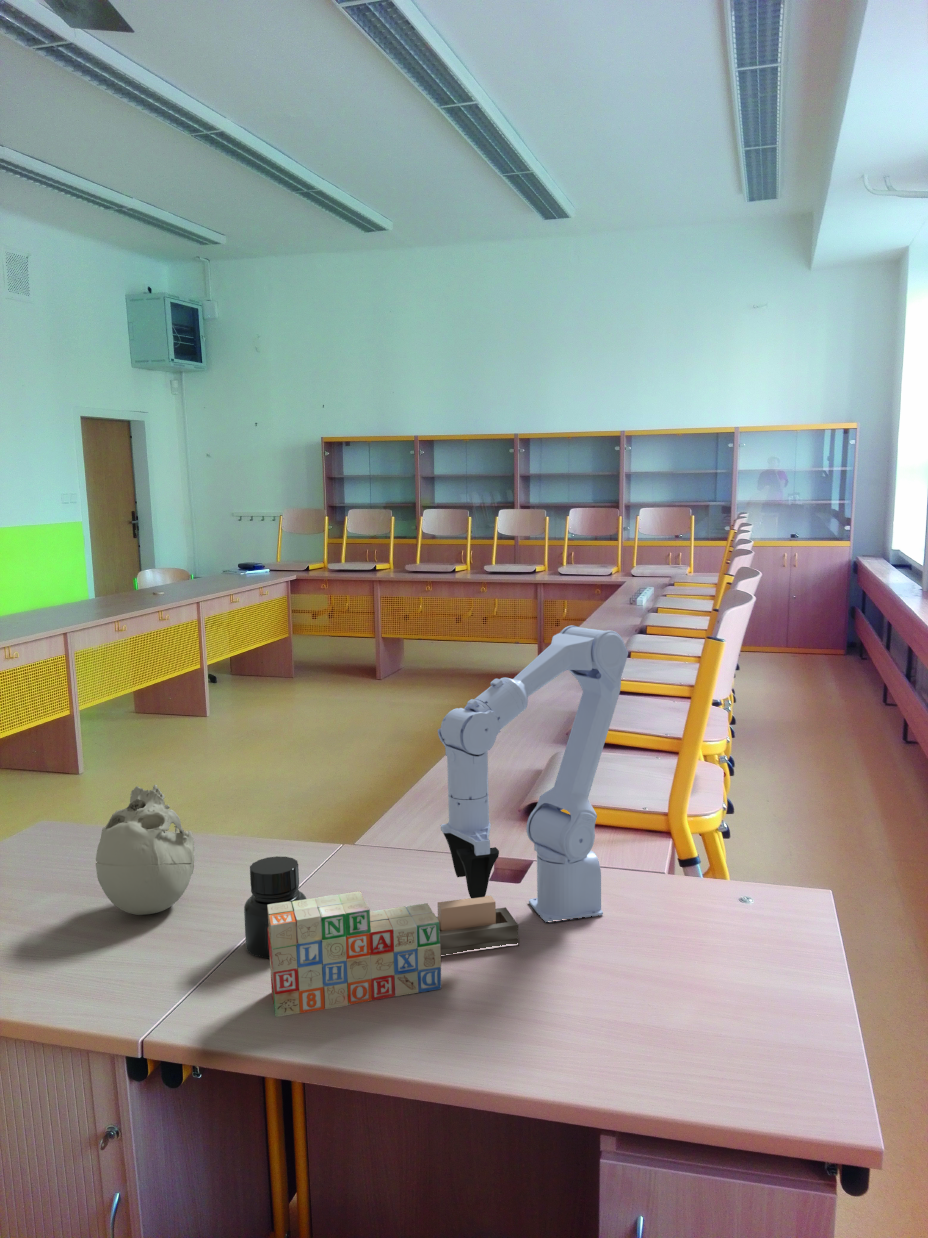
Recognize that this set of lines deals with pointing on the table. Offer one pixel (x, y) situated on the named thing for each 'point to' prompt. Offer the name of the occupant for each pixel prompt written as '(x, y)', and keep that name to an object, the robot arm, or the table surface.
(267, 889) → the ink bottle
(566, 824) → the robot arm
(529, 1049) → the table surface
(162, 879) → the skull
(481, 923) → the tan rectangular block
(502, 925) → the shallow rectangular tray
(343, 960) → the stack of blocks
